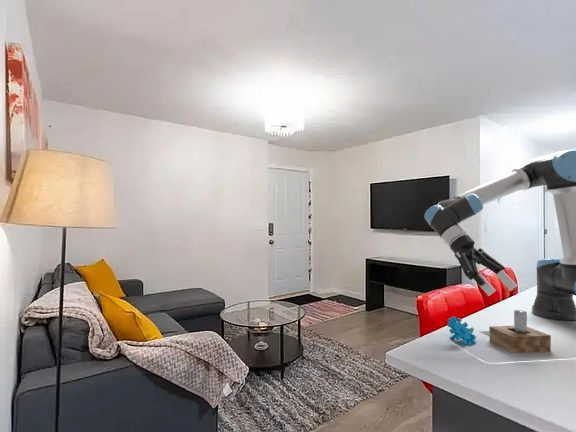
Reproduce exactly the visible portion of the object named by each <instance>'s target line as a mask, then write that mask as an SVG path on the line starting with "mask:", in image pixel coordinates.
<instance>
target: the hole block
mask: <svg viewBox="0 0 576 432" xmlns="http://www.w3.org/2000/svg"><path fill="white" fill-rule="evenodd" d="M489 331H490V337H489V342H490V343H492V344H494V345H496V346H498V347H500V348H502V349H504V350H506V351H508V352H510V353H513V354H525V353H542V352H546V353H547V352H551V351H552V347H551V346H552V344H551V341H552V340H551V339H552V337H551V336H552V335H550V334H548V333H546V332H543V331H540V330H537V329H534V328H532V327H529V326H527V333H523V334H517V333H515V332H514V325H495V326H490V325H489Z"/></svg>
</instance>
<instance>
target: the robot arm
mask: <svg viewBox="0 0 576 432" xmlns="http://www.w3.org/2000/svg"><path fill="white" fill-rule="evenodd" d="M543 186H546V191H547V192H549V193H550V194H552V195H553V201H554V202H553V203H554V208H555V213H556V219H557V226H558V231H559V236H560V242H561V248H562V254H563V256H562V258H541V259H538V260H537V262H536V267H535V268H536V296H535V298H534V303H533V305H531V313H532V314H534V315H536V316H539V317H542V318H547V319H553V320H561V321H576V303H575V301H574V296H576V149H568V150H567V149H566V150H561V151H557V152H555V153H554V152H553V153H551V154H545V155H542V156H539V157H537V158H535V159H532V160H530V161H528V162H526V163H524V164H522V165H520V166H518V167H516V168H514V169H511V172H510V173H508V174H505V175H503V176H501V177H498V178H496V179H493V180H492V181H489V182H487V183H483V184H482V185H479V186H476V187H475V188H472V189H470V190H467V191H465V192H462V193H461V194H459V195H458V194H457V195H456V196H454V197H451V198H448V199H444V200H441V201H439V202H437V204H435V205H432V206H430V207H429V208H428V209H426V210H425V213H424V216H423V217H424V220H425V221H426V222H427V223H428V225H429V226H430V227H431V228H432V230H434V232H435V233H436V234H437V235H439V237H440V238H441V239H442V240H443V243H444V244H446V245H447V246H448V247H449V249H450V250H451V251H452V252H453V254H454V257H455V258H456V259H457V261H458V263H459V265H460V267H461V270H462V271H463V274H464V275H465V277H467V278H468V279H469V280H470V281H472V280H474V282H476V284H477V285H478V286H479V287H480V288H481V290H483V291H484V293H485V294H486V296H488V297H489V296H491V295H492V294H494V293H495V292H496V291H497V290H496V289H495V288H494V286H492V285H491V283H490V282H489V281H488V279H487V278H485V276H484V275H483V274H482V273H479V271H478V267H477V265H481V266H483V267H485V268H487V270H490V271H491V272H493V273H495V276H496V277H497V279H499V280H500V282H502V284H503V285H504V286H505V287H506V288H507V290H509V291H510V292H512V291H513V290H514V289H515V288H517V287H518V285H517V284H516V282H515V281H514V280H513V279H512V278H511V277H510V276H509V275H508V274H507V273H506V272H505V271H504V270H505V269H506V268H505V266H504V265H503V264H501V263H500V262H499V261H497V260H496V259H495V258H493V257H492V256H491V255H489V254H488V253H486V252H485V250H483V248H481V247H480V248H478V249H476V248H475V243H476V242H475V241H474V240H473V238H471V236H470V235H469V234H467V232H466V231H465V230H464V229H463V227H461V225H459V224H460V223H462V222H464V221H466V220H468V219H469V218H472V217H474V216H476V215H477V214H478V213H480V212H482V210H483V209H484V205H487V204H489V203H492V202H493V201H496V200H499V199H500V198H501V199H502V198H503V197H506V196H508V195H511V194H514V193H515V192H518V191H527V190H529V189H532V188H536V187H543Z"/></svg>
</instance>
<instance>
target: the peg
mask: <svg viewBox="0 0 576 432" xmlns="http://www.w3.org/2000/svg"><path fill="white" fill-rule="evenodd" d="M527 319H528V312H527V311H525V310H520V309H518V310H517V309H516V310H513V326H514V332H515V333H517V334H523V333H527V327H528V323H527V322H528V320H527Z"/></svg>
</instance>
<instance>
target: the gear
mask: <svg viewBox="0 0 576 432" xmlns="http://www.w3.org/2000/svg"><path fill="white" fill-rule="evenodd" d="M447 322H448V323H447V328H450V329H449V332H450V334H453V335H451V336H450V337H449V339H450V340H454V339H456V341H459V340H460V339H462V340H461V344H462V345H463V346H466V345H467V346H473V345H474V344H476V343H477V342H476V340H475V339H476V338H477V336H476V335H474V334H473V333H474V331H475V328H474V327H469V328H468V326H469V324H468V323H467V322H466V321H465V322H463V321H462V319H461V318H460V317H458V318H457V317H456V316H452V317H449V318H448V319H447ZM462 322H463V323H462Z"/></svg>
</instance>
